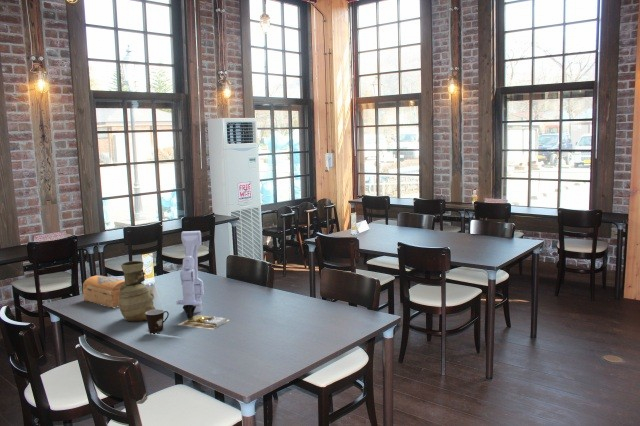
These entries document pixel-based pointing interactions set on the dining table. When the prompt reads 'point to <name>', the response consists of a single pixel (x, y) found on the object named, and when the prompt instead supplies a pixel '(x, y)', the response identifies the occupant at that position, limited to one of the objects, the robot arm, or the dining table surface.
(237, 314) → the dining table surface
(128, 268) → the ceramic vessel
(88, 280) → the wooden box
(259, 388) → the dining table surface
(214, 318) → the panel
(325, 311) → the dining table surface
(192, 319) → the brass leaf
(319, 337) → the dining table surface
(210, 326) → the jig board
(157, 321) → the coffee mug
